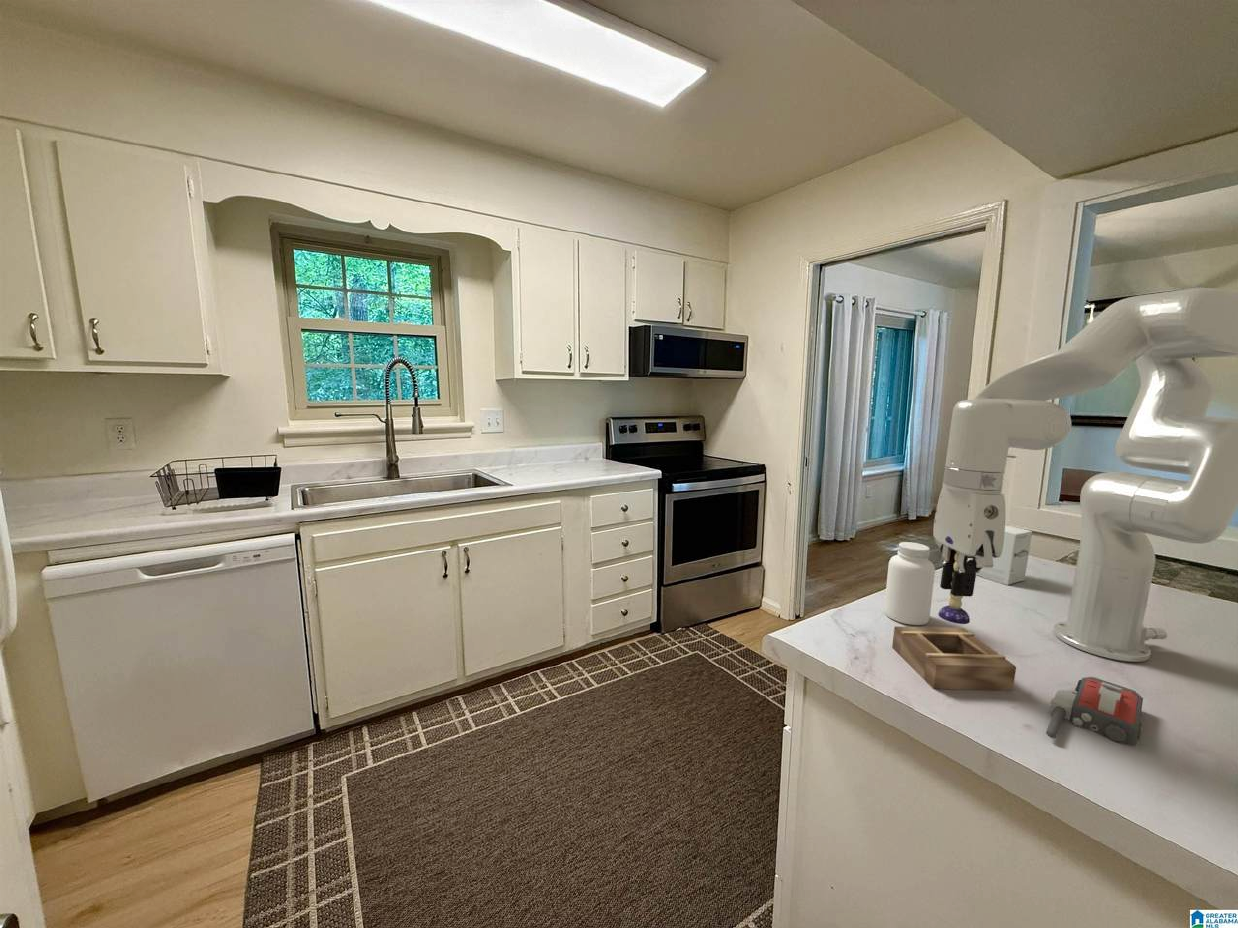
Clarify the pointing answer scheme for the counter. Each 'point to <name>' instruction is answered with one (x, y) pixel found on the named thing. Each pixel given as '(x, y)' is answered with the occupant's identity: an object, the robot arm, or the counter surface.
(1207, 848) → the counter surface
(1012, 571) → the supplement box
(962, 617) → the toy lamp
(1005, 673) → the tan wooden square frame
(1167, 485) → the robot arm
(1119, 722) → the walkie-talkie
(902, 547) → the pill bottle
